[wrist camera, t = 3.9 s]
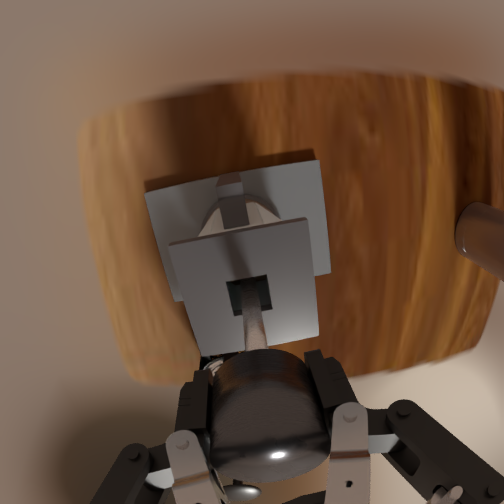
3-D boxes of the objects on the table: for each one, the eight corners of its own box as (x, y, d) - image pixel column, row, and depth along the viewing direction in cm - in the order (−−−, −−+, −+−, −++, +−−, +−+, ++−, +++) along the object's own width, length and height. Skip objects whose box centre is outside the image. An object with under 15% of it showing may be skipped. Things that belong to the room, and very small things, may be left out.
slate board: (316, 159, 33) (318, 159, 32) (328, 269, 38) (330, 272, 37) (146, 191, 33) (144, 193, 32) (176, 297, 38) (174, 301, 37)
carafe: (271, 162, 32) (303, 174, 18) (287, 264, 36) (320, 336, 22) (187, 178, 32) (155, 203, 18) (210, 278, 36) (201, 357, 22)
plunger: (272, 249, 22) (333, 412, 8) (280, 300, 24) (330, 470, 10) (213, 260, 22) (193, 434, 8) (225, 311, 24) (226, 487, 10)
